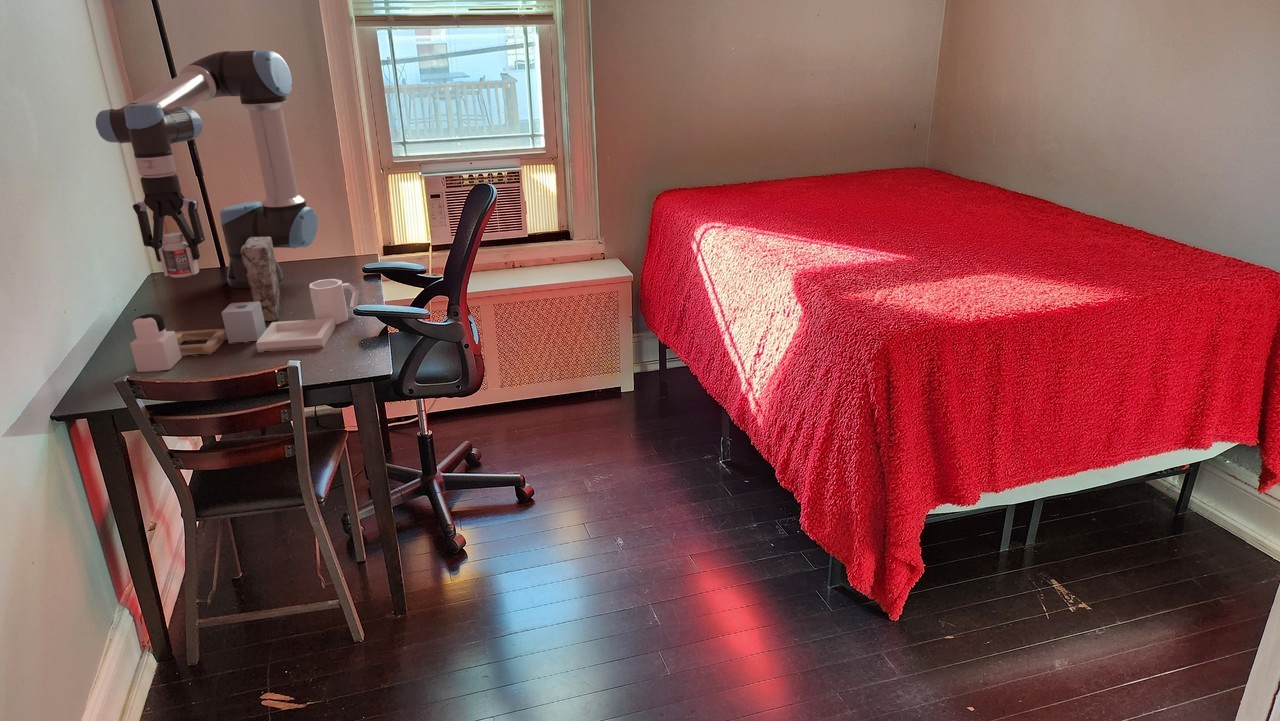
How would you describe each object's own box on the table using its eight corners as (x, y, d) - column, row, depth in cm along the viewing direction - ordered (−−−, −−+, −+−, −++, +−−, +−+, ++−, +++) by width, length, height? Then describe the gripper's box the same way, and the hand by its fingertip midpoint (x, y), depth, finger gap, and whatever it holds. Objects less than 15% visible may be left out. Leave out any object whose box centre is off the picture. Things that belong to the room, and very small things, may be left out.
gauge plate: (179, 339, 208) (177, 331, 207) (229, 335, 209) (227, 328, 208) (159, 357, 197) (157, 350, 196) (213, 354, 198) (211, 346, 197)
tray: (274, 331, 211) (272, 322, 210) (335, 327, 212) (333, 318, 211) (257, 352, 198) (255, 342, 197) (323, 347, 200) (321, 338, 199)
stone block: (285, 320, 219) (269, 245, 211) (256, 324, 216) (239, 248, 208) (285, 304, 230) (270, 233, 222) (258, 308, 228) (242, 236, 220)
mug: (321, 328, 212) (314, 291, 208) (310, 319, 219) (303, 283, 215) (367, 317, 219) (361, 281, 215) (355, 308, 225) (349, 273, 221)
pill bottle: (182, 278, 195) (172, 237, 191) (164, 277, 197) (154, 236, 193) (200, 272, 200) (191, 232, 196) (182, 271, 201) (173, 231, 198)
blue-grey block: (237, 333, 210) (230, 303, 207) (266, 331, 211) (260, 301, 208) (228, 343, 204) (221, 312, 201) (258, 341, 205) (251, 310, 202)
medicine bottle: (151, 360, 195) (137, 312, 191) (182, 358, 196) (170, 310, 191) (137, 372, 189) (122, 323, 184) (169, 371, 189) (156, 321, 185)
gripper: (107, 179, 185) (134, 280, 194) (194, 175, 187) (217, 275, 195) (123, 173, 192) (148, 271, 201) (206, 170, 194) (228, 267, 202)
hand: (182, 273), depth 198 cm, fingers closed on pill bottle, 5 cm apart
